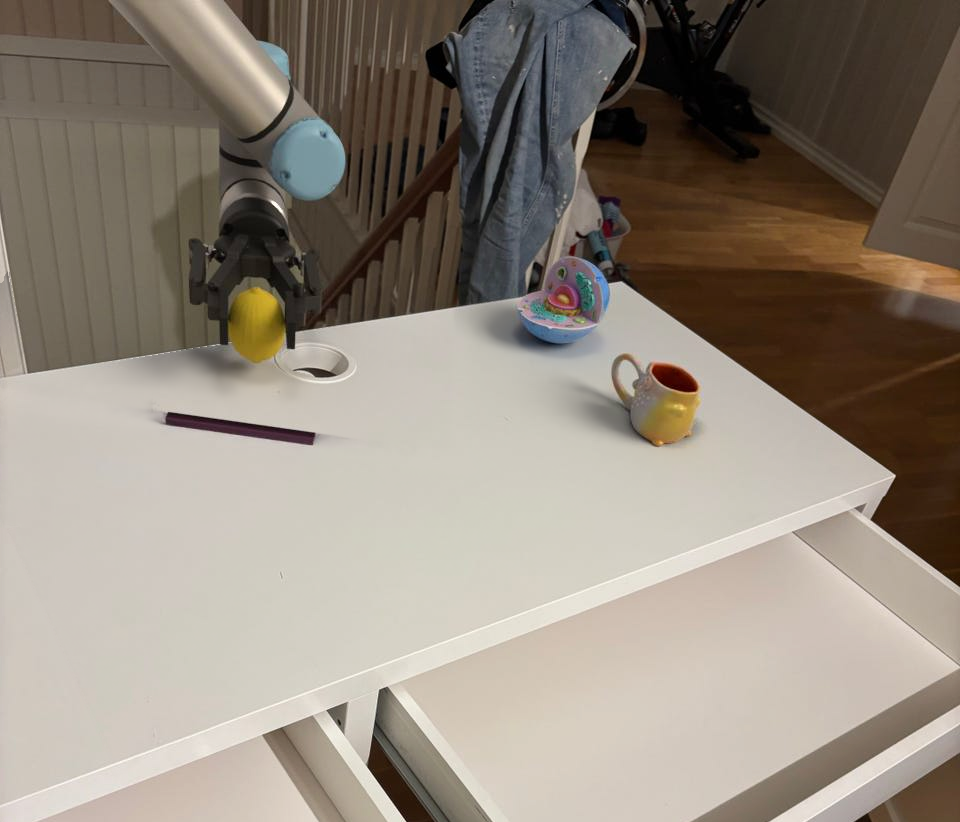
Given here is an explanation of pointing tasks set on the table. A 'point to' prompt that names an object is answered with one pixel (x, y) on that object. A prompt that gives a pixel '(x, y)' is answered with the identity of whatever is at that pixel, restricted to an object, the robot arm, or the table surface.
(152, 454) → the table surface
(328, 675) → the table surface
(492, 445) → the table surface
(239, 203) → the robot arm
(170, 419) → the dark purple flat bar
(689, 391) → the mug
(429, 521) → the table surface
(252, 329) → the lemon
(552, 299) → the cell model
